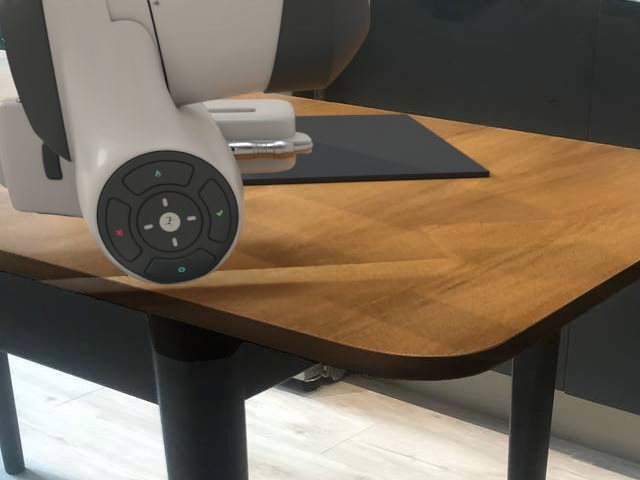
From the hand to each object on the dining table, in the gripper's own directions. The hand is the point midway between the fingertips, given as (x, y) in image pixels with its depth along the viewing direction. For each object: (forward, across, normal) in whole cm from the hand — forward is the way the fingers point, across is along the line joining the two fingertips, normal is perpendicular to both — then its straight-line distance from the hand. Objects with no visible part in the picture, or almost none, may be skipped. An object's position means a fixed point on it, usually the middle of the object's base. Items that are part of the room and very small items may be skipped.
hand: (140, 114), depth 78 cm
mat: (+27, -14, +8) cm, 32 cm away
